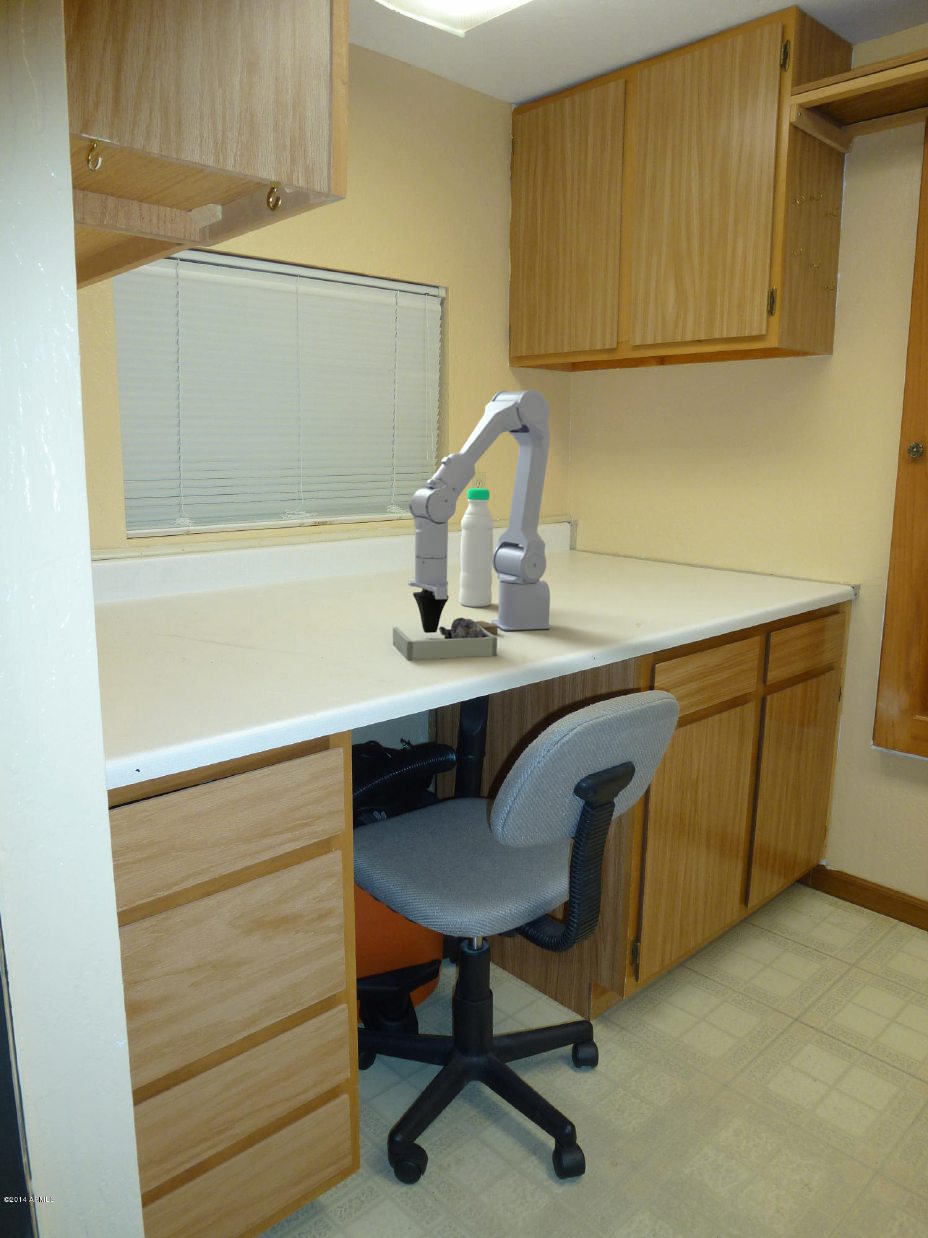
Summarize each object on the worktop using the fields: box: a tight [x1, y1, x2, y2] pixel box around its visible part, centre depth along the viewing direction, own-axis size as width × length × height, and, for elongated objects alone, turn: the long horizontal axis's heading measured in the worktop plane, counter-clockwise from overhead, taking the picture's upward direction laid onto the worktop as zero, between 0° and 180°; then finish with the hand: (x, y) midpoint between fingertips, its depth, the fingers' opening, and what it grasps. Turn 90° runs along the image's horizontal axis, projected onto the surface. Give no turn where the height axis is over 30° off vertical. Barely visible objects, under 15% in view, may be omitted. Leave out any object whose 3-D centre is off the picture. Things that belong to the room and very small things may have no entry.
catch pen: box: [392, 625, 498, 661], centre depth 147 cm, size 15×11×3 cm
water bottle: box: [458, 487, 495, 608], centre depth 186 cm, size 7×7×25 cm
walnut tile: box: [474, 620, 499, 636], centre depth 161 cm, size 5×5×2 cm
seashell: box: [438, 617, 486, 639], centre depth 149 cm, size 5×5×10 cm
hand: (430, 631), depth 156 cm, fingers closed
